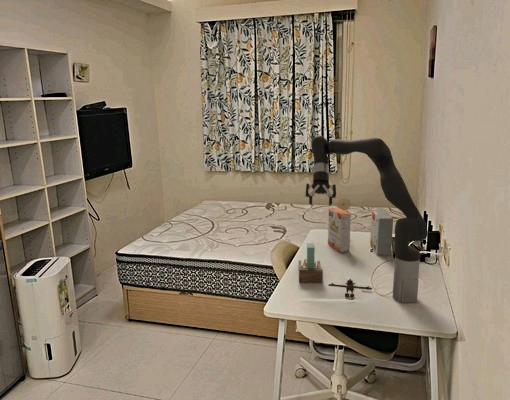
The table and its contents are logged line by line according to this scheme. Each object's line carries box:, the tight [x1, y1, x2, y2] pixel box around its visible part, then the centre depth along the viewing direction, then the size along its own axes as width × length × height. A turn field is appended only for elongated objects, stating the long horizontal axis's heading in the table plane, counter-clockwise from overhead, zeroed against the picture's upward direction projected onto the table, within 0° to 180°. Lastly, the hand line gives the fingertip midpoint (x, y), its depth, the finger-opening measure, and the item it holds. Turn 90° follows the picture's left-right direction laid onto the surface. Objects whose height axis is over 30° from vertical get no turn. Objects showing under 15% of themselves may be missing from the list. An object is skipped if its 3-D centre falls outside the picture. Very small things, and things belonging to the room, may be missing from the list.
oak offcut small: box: [303, 258, 317, 267], centre depth 198 cm, size 5×4×2 cm
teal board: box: [306, 242, 316, 269], centre depth 188 cm, size 6×3×15 cm, turn 175°
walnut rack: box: [298, 259, 324, 284], centre depth 193 cm, size 20×10×7 cm, turn 175°
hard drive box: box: [369, 209, 394, 256], centre depth 224 cm, size 16×8×20 cm, turn 178°
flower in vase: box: [335, 196, 352, 213], centre depth 241 cm, size 13×11×25 cm
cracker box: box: [327, 207, 352, 253], centre depth 228 cm, size 14×6×21 cm, turn 17°
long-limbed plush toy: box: [328, 278, 373, 301], centre depth 177 cm, size 18×4×14 cm
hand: (320, 204), depth 199 cm, fingers open, 8 cm apart
